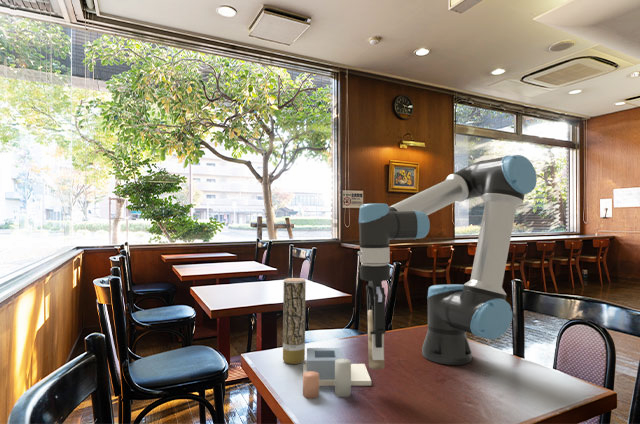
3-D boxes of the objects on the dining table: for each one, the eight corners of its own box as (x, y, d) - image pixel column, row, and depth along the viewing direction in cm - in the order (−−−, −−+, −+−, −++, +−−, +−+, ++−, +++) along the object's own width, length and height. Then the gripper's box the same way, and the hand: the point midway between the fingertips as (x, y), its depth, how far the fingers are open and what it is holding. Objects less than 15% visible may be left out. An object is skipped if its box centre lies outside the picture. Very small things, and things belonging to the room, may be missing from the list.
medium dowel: (349, 389, 97) (350, 358, 97) (351, 397, 93) (351, 364, 93) (334, 390, 97) (334, 358, 97) (335, 397, 93) (335, 364, 93)
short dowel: (318, 391, 96) (318, 371, 96) (319, 398, 92) (319, 377, 92) (302, 391, 96) (303, 371, 96) (302, 398, 92) (303, 377, 92)
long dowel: (382, 363, 98) (381, 309, 98) (386, 369, 94) (384, 312, 94) (367, 363, 98) (366, 309, 98) (370, 369, 94) (369, 313, 94)
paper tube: (301, 365, 113) (302, 281, 114) (279, 363, 114) (280, 280, 115) (307, 357, 120) (307, 278, 120) (286, 356, 121) (287, 277, 122)
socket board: (364, 367, 112) (364, 346, 112) (371, 385, 100) (371, 361, 100) (303, 368, 111) (303, 346, 111) (303, 385, 99) (303, 362, 99)
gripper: (355, 260, 105) (357, 345, 105) (365, 268, 88) (367, 369, 88) (382, 259, 105) (384, 344, 105) (397, 267, 88) (399, 368, 88)
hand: (376, 355), depth 96 cm, fingers closed on long dowel, 4 cm apart
